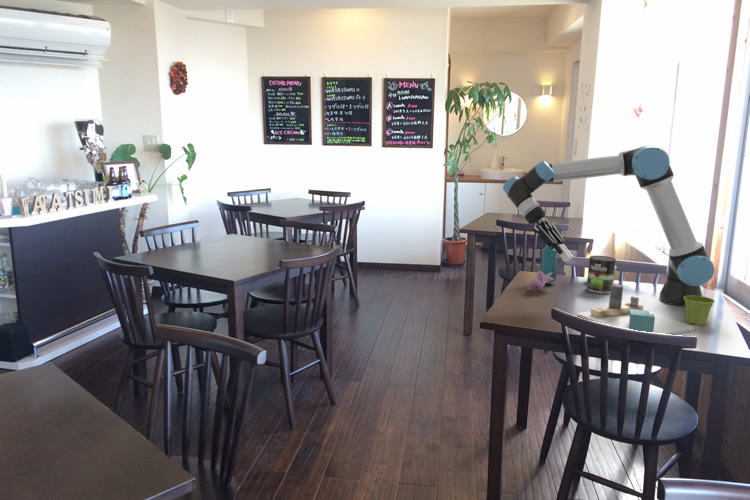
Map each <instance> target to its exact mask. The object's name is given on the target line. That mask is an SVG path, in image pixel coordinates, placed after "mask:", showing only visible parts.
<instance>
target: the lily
mask: <svg viewBox="0 0 750 500" xmlns="http://www.w3.org/2000/svg"><path fill="white" fill-rule="evenodd" d="M552 273H553V272H551V273H548V274H547V275H544V273H543V272H542V271H541V270H538V271H537V273H536V274H535V279H532V280H530V281H528V282H527V283H528V284H530V285H529V286H528V288H527V289H526V290H527V291H530V290H531V289H534V288H538V289H540V290H541V289H542V290H543V289H544V291H545V293H546V294H545V295H548V292H547V290H546V287H545V285H546V283H549V282H548V281H551V280H554V278H552V277H550V275H551V274H552Z"/></svg>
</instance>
